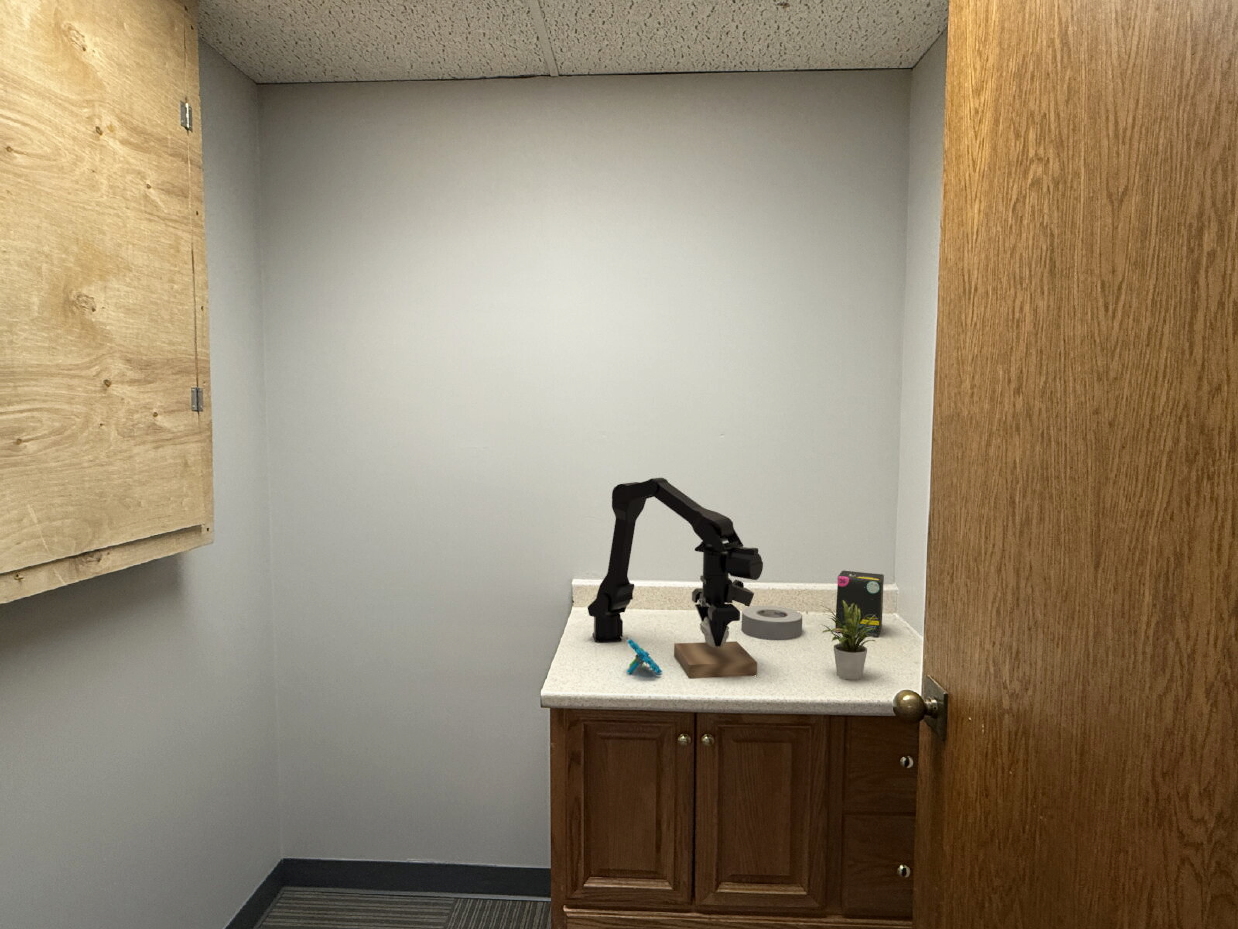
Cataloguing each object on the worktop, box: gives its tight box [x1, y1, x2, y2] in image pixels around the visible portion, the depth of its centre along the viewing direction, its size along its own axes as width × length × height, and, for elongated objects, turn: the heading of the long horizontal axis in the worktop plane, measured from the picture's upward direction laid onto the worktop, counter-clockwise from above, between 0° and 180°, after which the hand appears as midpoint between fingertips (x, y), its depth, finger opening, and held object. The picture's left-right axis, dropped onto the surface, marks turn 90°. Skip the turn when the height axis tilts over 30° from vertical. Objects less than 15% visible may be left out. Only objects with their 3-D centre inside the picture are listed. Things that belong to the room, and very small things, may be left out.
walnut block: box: [673, 640, 758, 679], centre depth 179 cm, size 15×15×4 cm
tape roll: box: [741, 605, 803, 641], centre depth 206 cm, size 15×15×5 cm
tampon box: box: [834, 570, 885, 638], centre depth 207 cm, size 11×9×15 cm
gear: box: [627, 638, 663, 675], centre depth 174 cm, size 11×6×10 cm
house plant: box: [819, 601, 877, 681], centre depth 174 cm, size 14×14×16 cm
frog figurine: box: [699, 617, 730, 648], centre depth 179 cm, size 6×7×7 cm
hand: (714, 641), depth 179 cm, fingers closed on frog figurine, 6 cm apart
